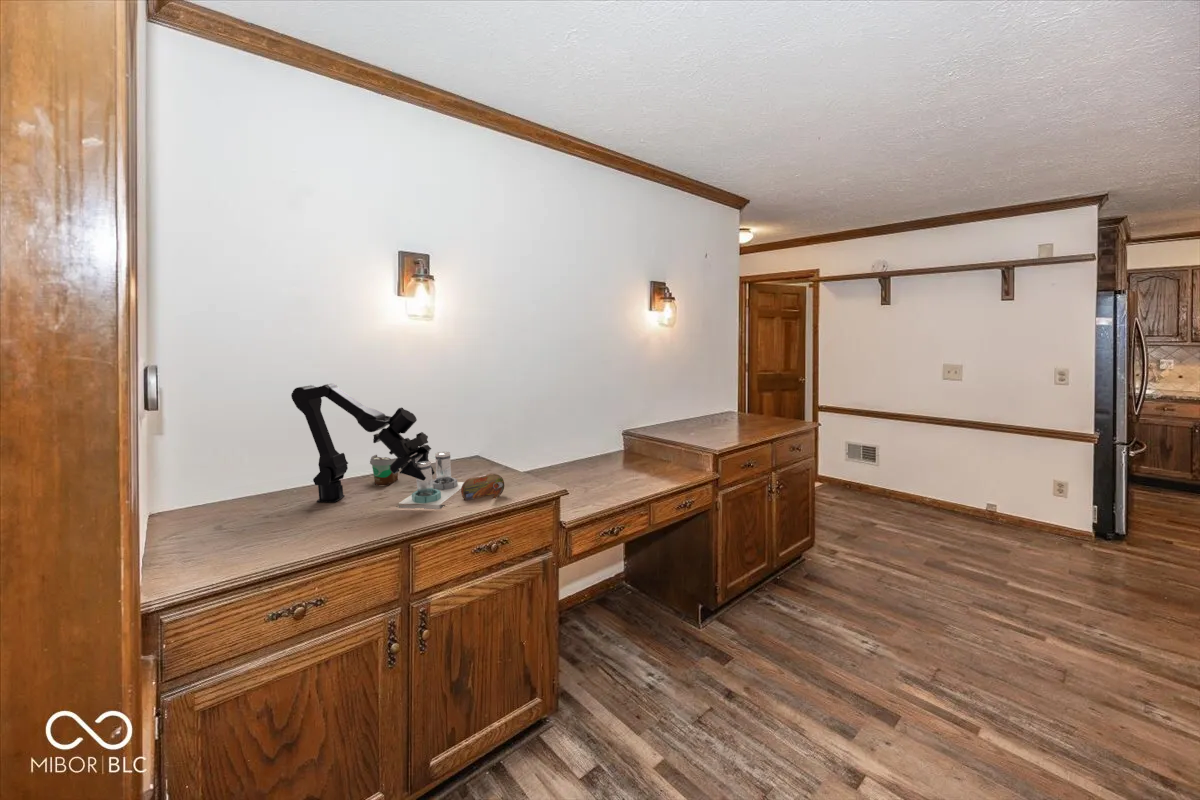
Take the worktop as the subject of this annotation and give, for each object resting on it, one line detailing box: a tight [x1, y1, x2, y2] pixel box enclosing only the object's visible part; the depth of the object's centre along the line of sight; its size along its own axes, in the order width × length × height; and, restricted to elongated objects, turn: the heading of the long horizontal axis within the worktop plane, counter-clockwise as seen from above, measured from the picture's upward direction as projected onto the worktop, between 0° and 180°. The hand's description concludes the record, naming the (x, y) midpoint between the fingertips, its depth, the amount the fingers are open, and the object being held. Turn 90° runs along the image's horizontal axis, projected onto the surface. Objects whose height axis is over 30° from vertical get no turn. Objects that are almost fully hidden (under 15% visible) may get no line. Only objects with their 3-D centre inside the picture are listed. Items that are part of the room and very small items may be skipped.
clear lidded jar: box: [435, 451, 452, 484], centre depth 189 cm, size 5×5×12 cm
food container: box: [369, 454, 399, 486], centre depth 197 cm, size 12×6×10 cm, turn 62°
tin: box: [460, 473, 505, 502], centre depth 179 cm, size 15×3×8 cm, turn 129°
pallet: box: [397, 476, 465, 510], centre depth 183 cm, size 14×25×4 cm, turn 173°
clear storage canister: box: [415, 460, 434, 496], centre depth 175 cm, size 5×5×12 cm
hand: (429, 476), depth 175 cm, fingers open, 6 cm apart
